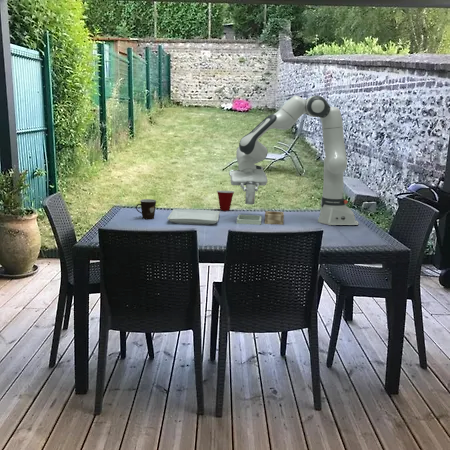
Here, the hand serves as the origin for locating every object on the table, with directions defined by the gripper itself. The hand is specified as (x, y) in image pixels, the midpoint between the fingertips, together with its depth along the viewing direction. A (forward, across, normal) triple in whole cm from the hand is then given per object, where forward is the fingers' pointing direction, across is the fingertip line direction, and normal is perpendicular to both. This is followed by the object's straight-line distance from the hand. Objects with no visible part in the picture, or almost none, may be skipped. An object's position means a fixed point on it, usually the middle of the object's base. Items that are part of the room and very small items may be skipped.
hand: (250, 190), depth 274 cm
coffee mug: (+1, -55, +25) cm, 60 cm away
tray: (+12, 0, +13) cm, 18 cm away
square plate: (+5, -28, +21) cm, 36 cm away
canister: (+5, 0, +6) cm, 7 cm away
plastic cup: (-14, -5, +40) cm, 42 cm away
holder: (+14, +13, +11) cm, 23 cm away
